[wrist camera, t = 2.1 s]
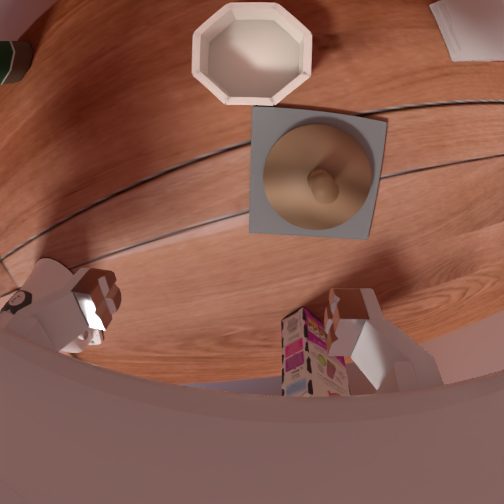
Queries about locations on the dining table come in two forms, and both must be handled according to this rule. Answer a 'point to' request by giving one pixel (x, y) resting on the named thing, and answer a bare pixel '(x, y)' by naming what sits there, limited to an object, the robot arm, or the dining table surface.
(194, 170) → the dining table surface
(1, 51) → the beer bottle
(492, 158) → the dining table surface
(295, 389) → the candy bar box
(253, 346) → the dining table surface
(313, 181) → the lid
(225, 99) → the bowl
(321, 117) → the mat
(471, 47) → the supplement box
